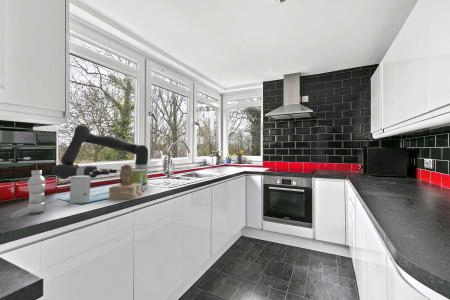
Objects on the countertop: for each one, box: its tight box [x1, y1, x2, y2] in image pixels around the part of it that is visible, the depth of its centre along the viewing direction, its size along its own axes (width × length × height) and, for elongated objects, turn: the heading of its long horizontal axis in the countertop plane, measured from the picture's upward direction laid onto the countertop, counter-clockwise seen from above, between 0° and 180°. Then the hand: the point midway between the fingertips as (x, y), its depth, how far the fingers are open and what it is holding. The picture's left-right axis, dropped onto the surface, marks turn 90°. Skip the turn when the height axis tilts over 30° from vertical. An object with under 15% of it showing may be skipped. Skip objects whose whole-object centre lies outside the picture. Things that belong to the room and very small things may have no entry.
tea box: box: [119, 169, 147, 192], centre depth 148 cm, size 15×10×15 cm
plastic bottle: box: [27, 169, 47, 214], centre depth 96 cm, size 6×7×20 cm
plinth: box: [108, 183, 143, 200], centre depth 128 cm, size 14×14×7 cm
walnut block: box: [120, 164, 133, 186], centre depth 128 cm, size 4×4×13 cm
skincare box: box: [69, 176, 91, 204], centre depth 116 cm, size 8×6×15 cm
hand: (112, 172), depth 128 cm, fingers open, 8 cm apart
